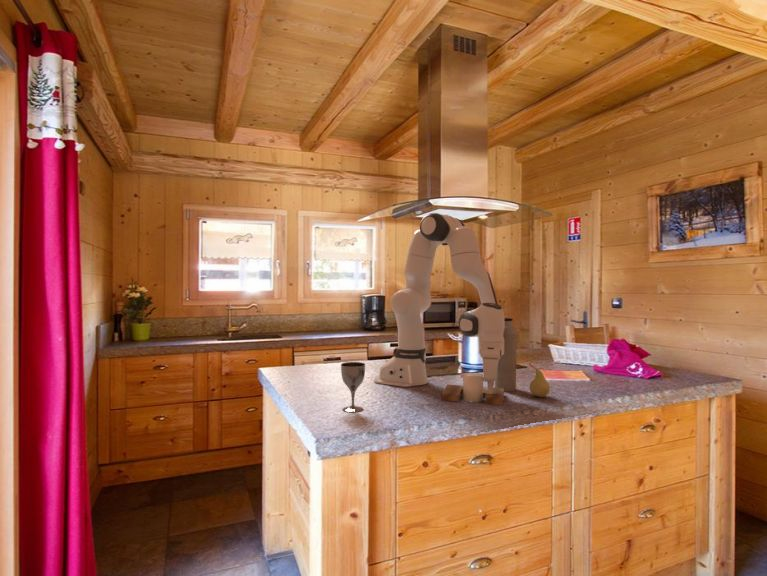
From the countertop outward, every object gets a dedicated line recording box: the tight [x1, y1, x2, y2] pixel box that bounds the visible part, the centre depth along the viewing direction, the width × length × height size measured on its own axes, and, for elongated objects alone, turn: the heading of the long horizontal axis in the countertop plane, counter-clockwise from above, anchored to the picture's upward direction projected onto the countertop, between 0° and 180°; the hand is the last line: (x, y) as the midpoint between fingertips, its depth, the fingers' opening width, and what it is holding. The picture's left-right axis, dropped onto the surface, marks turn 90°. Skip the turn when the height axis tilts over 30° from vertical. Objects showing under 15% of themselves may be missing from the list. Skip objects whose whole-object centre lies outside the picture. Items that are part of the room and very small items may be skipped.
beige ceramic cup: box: [459, 372, 493, 403], centre depth 157 cm, size 11×7×9 cm, turn 74°
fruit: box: [529, 363, 551, 398], centre depth 162 cm, size 7×8×12 cm
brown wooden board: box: [441, 384, 505, 406], centre depth 160 cm, size 21×14×2 cm, turn 74°
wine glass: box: [340, 361, 366, 414], centre depth 145 cm, size 8×8×15 cm
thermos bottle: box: [494, 317, 518, 393], centre depth 173 cm, size 8×8×28 cm
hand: (490, 387), depth 156 cm, fingers open, 3 cm apart
